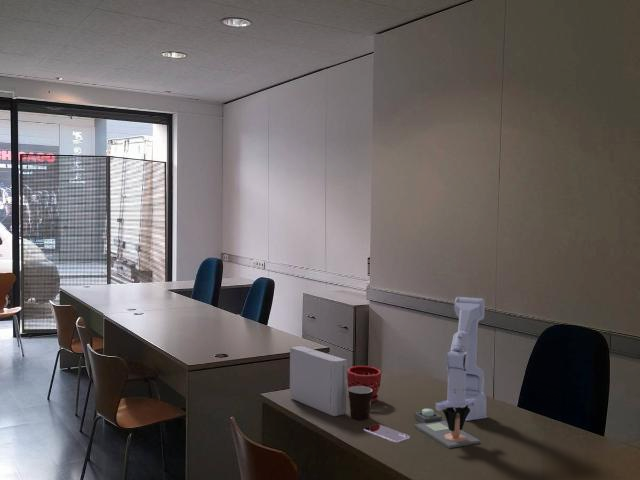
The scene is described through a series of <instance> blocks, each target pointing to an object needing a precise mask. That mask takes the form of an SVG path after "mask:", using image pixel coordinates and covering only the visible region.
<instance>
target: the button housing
mask: <svg viewBox="0 0 640 480" xmlns="http://www.w3.org/2000/svg"><path fill="white" fill-rule="evenodd" d="M413 419H414V420H416V421H418V422H419V423H420V424H421V423H428V422H435V421H442V420H443V416H442V415H440V414H438V413H436V412H434V417H427V418H425V417H424V416H422V411H418V412H417V411H415V412H413Z"/></svg>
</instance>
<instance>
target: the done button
mask: <svg viewBox="0 0 640 480" xmlns="http://www.w3.org/2000/svg"><path fill="white" fill-rule="evenodd" d="M434 411H435V410H434V409H432V408H423V409H421V412H422V416H424V417H425V418H427V417H434Z"/></svg>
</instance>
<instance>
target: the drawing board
mask: <svg viewBox="0 0 640 480" xmlns="http://www.w3.org/2000/svg"><path fill="white" fill-rule="evenodd" d="M414 427H415V428H416V429H417V430H419V431H420V432H422V433H424V434H426V435H427V436H429V437H430V438H431V439H433V440H435V441H436V442H438V443H440V444H442V445H443V446H444V447H446V448H447V449H453V448H458V447H464V446H465V447H466V446H470V445H475V444H480V443H481V440H480V439H479V438H477V437H474V435H471V434H470V433H468V432H465V431H464V430H463V429H462V430H460V436H459V437H453V436H451V430H449V428H448V423H447V420H443V419H442V421H435V422H428V423H421V422H420V423H418V424H417V423H416V424H414Z"/></svg>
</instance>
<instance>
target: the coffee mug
mask: <svg viewBox="0 0 640 480" xmlns="http://www.w3.org/2000/svg"><path fill="white" fill-rule="evenodd" d="M347 390H348V391H347V392H348V393H349V397H348V402H349V410H350V411H349V412H350V418H351V419H352V420H354V421H366V420H367V421H368V420H369V418H370V411H371V404H372V403H371V398H372V391H373V390H372V389H371V388H369V387H364V386H354V387H350V388H348V389H347Z"/></svg>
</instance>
